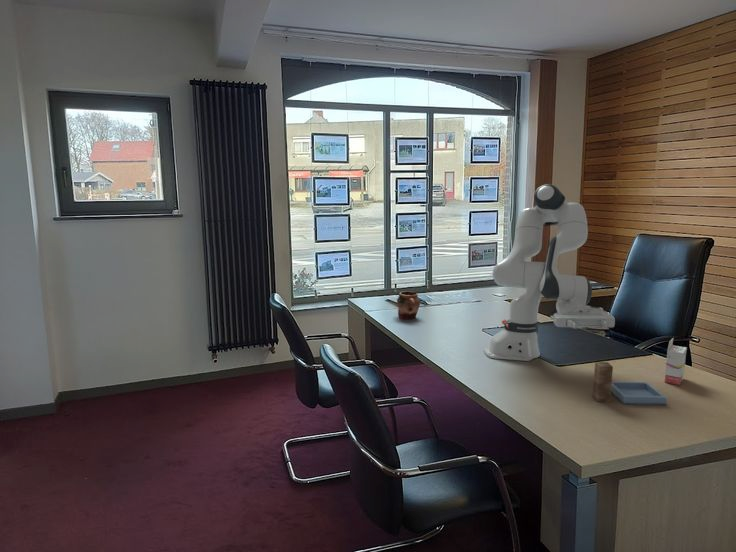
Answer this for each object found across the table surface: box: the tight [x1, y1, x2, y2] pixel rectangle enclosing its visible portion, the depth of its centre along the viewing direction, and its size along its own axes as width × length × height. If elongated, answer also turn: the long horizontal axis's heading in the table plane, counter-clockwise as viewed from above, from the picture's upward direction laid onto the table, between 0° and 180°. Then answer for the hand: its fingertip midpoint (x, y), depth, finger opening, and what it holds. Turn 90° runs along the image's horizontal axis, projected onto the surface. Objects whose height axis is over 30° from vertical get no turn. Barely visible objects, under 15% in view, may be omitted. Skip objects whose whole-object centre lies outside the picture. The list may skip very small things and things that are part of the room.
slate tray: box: [611, 381, 668, 406], centre depth 164 cm, size 13×13×2 cm
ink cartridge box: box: [664, 337, 688, 386], centre depth 176 cm, size 9×5×15 cm, turn 141°
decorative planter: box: [396, 290, 421, 320], centre depth 269 cm, size 20×12×14 cm, turn 18°
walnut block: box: [592, 361, 614, 403], centre depth 161 cm, size 4×4×12 cm
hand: (590, 326), depth 171 cm, fingers open, 8 cm apart
